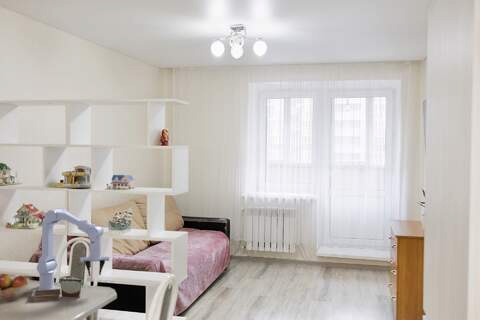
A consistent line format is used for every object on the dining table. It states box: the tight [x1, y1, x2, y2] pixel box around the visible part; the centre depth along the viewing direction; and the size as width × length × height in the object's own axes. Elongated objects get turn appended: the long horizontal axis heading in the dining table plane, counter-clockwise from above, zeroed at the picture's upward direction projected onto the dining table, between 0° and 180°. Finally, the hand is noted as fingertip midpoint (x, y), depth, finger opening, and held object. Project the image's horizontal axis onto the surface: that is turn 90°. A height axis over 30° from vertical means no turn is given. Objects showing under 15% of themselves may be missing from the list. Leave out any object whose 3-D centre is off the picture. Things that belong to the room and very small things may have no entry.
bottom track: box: [30, 288, 61, 303], centre depth 241 cm, size 11×13×3 cm
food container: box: [58, 275, 84, 299], centre depth 245 cm, size 12×6×10 cm, turn 84°
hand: (94, 275), depth 248 cm, fingers open, 5 cm apart
